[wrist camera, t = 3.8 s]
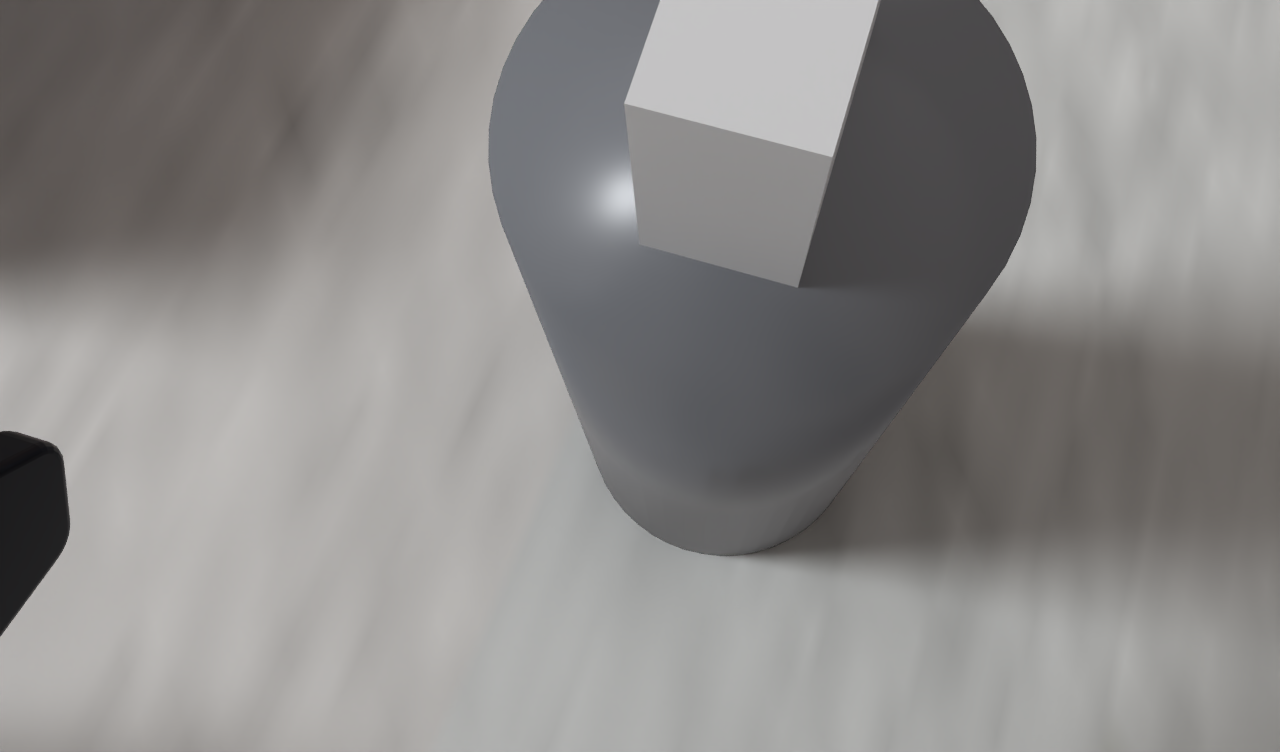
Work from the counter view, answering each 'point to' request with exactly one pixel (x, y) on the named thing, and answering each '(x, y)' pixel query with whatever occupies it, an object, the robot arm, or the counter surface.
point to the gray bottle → (754, 233)
